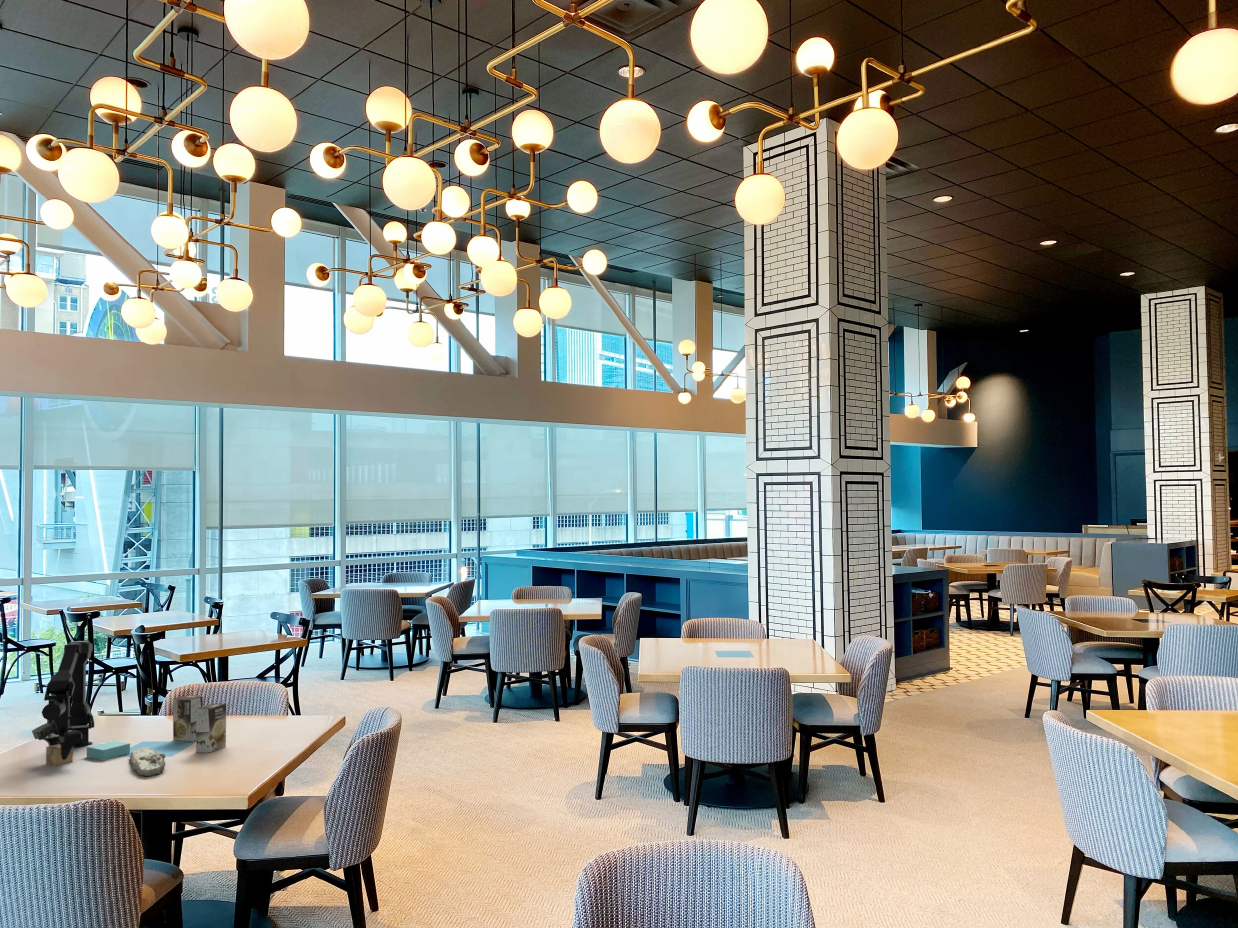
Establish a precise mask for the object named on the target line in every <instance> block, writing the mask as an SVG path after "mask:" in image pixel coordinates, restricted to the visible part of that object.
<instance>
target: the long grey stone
mask: <svg viewBox="0 0 1238 928" xmlns="http://www.w3.org/2000/svg"><path fill="white" fill-rule="evenodd" d="M165 759H166V754H165V753H158V752H157V751H156V750H154V749H153V747H150V746H144V747H139V748H136V749H134V750H132V751H130V756H129V761H130V763H131V767H132V769H133V770H134V771H135V772H136V773H137V774H138V775H139V774H140V775H139V776H143V777H144V776H145V777H149V776H154V775H157V774H158V775H160V774H161V772H162V771H164V770H165V767H166V761H165Z"/></svg>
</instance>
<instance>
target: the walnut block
mask: <svg viewBox="0 0 1238 928" xmlns="http://www.w3.org/2000/svg"><path fill="white" fill-rule="evenodd" d="M69 762H70V763H73V762H74V747H72V749H71V751H70V753H69V755H68V757H67V758H66V759H65V760H63V759H62V753H61V746H60V745H59V744H57V745H53V746H49V745H48V746H46V748H45V765H49V764H50V765H49V766H53V765H54V766H53V767H57V765H58V766H61V764H62V765H64V764H65V763H66V764H69ZM66 764H65V765H66Z"/></svg>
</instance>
